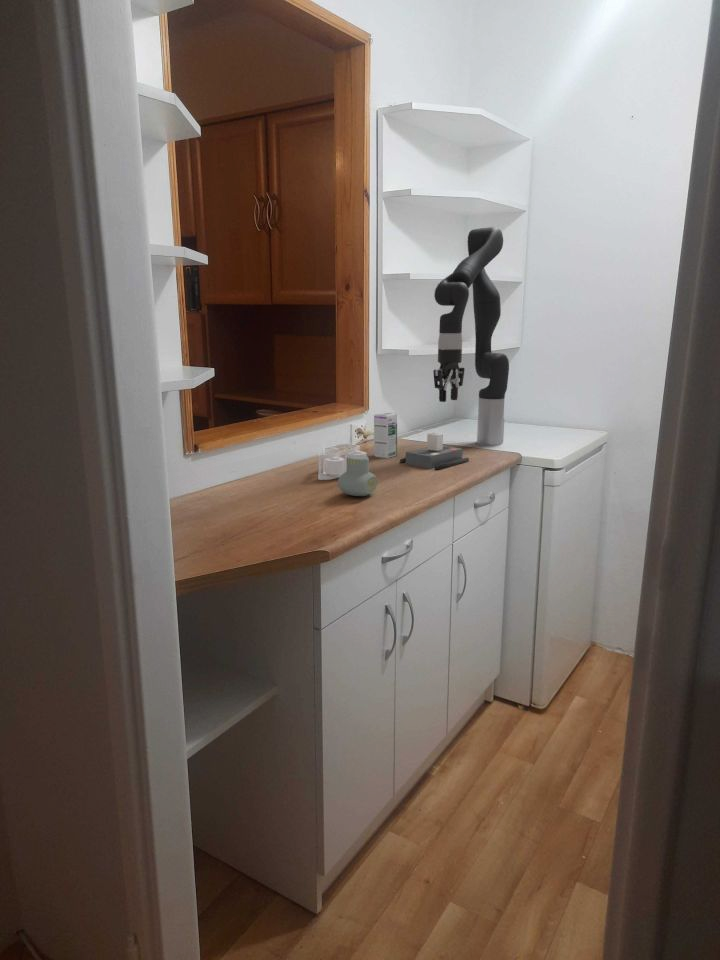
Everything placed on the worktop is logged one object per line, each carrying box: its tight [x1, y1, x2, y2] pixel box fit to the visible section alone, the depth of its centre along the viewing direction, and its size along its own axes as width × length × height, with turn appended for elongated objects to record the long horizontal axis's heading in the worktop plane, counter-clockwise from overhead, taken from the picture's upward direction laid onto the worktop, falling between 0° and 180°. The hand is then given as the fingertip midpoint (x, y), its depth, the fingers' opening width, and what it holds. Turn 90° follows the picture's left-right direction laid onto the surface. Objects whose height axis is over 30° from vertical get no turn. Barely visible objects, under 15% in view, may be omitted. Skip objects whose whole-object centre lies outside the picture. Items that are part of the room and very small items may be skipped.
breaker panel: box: [405, 445, 464, 470], centre depth 219 cm, size 17×10×4 cm, turn 137°
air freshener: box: [337, 455, 379, 497], centre depth 180 cm, size 11×8×10 cm
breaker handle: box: [426, 432, 444, 451], centre depth 217 cm, size 3×4×5 cm
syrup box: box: [373, 412, 398, 459], centre depth 227 cm, size 6×6×14 cm
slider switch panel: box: [399, 457, 470, 471], centre depth 219 cm, size 17×15×1 cm
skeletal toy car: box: [317, 442, 368, 481], centre depth 204 cm, size 20×11×7 cm, turn 144°
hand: (448, 400), depth 219 cm, fingers open, 5 cm apart
